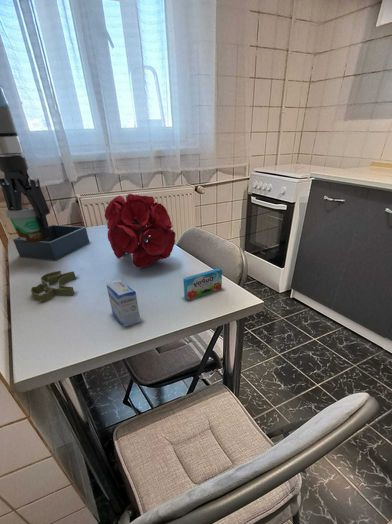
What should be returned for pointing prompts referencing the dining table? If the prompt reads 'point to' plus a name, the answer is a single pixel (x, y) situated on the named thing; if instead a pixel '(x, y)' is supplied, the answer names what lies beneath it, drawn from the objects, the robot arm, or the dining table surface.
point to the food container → (26, 225)
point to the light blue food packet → (202, 284)
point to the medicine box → (123, 303)
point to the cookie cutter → (52, 279)
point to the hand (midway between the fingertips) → (37, 236)
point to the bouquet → (139, 229)
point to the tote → (54, 243)
